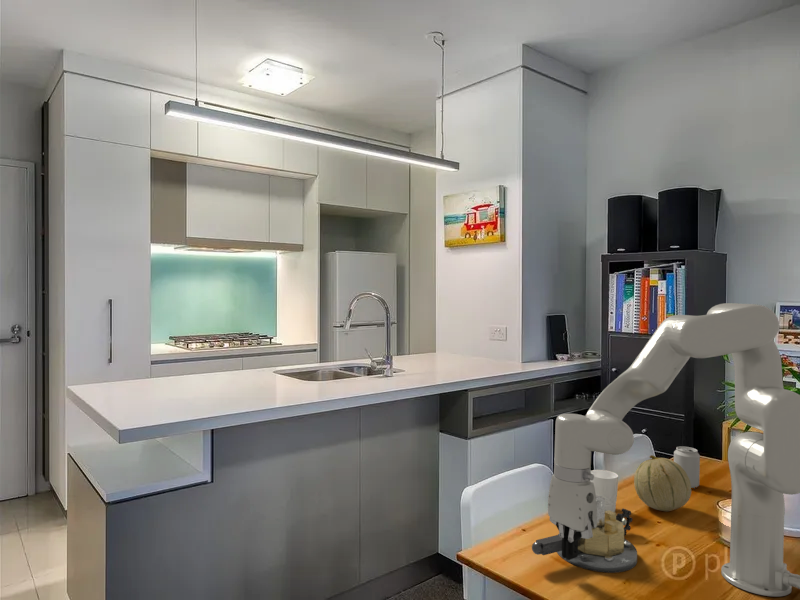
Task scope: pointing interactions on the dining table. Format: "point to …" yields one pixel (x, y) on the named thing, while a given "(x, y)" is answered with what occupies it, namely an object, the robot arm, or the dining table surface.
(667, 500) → the cantaloupe
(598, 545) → the castle nut fixture
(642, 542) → the dining table surface
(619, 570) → the cap plate
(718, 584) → the dining table surface
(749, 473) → the robot arm
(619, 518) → the valve
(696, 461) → the can
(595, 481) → the white cup
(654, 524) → the dining table surface
